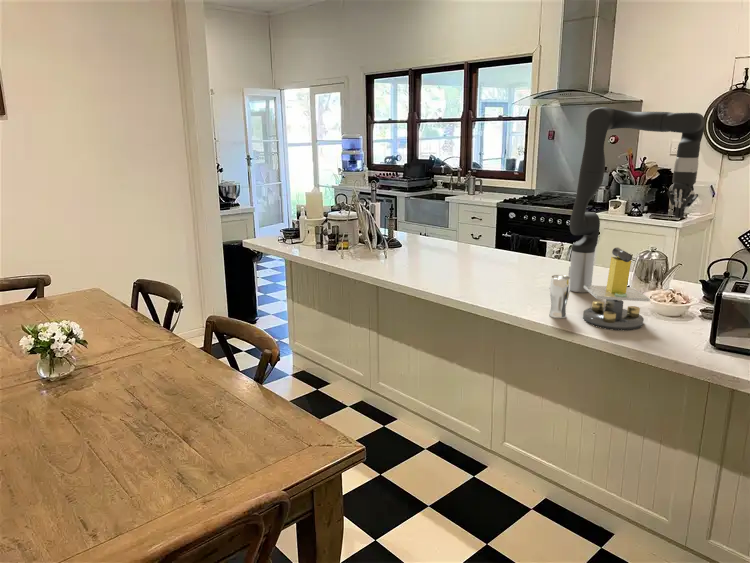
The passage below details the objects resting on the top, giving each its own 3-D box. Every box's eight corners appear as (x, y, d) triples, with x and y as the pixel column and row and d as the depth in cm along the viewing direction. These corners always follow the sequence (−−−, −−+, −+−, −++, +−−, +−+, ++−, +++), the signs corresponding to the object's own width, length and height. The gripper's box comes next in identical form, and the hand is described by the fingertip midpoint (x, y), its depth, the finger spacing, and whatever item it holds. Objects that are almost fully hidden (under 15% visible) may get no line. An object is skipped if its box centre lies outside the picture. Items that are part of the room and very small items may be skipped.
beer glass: (544, 313, 207) (547, 274, 203) (562, 312, 208) (566, 274, 204) (552, 319, 200) (555, 279, 196) (570, 318, 201) (574, 279, 197)
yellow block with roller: (583, 287, 203) (589, 245, 199) (633, 290, 202) (640, 247, 198) (596, 298, 189) (603, 253, 185) (649, 301, 189) (657, 256, 184)
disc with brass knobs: (575, 311, 209) (578, 287, 206) (629, 312, 208) (632, 287, 205) (593, 330, 189) (596, 303, 187) (652, 330, 188) (656, 304, 186)
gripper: (663, 169, 204) (657, 215, 209) (691, 171, 192) (684, 221, 197) (680, 168, 206) (673, 214, 211) (708, 171, 194) (701, 220, 198)
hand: (678, 217), depth 204 cm, fingers closed
